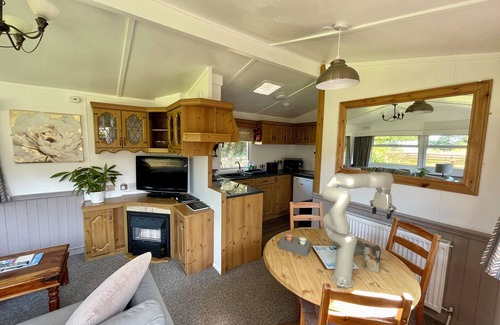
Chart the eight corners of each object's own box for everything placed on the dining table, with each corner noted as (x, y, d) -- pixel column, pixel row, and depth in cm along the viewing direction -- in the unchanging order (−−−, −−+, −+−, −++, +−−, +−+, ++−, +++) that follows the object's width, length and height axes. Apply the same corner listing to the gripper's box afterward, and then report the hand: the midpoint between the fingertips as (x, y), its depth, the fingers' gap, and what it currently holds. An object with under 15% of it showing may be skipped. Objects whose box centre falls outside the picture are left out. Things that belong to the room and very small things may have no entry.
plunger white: (305, 248, 159) (305, 240, 158) (297, 246, 161) (298, 238, 161) (306, 245, 164) (307, 237, 163) (299, 243, 166) (300, 235, 166)
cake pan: (358, 242, 181) (359, 237, 180) (372, 257, 157) (372, 252, 156) (329, 239, 183) (329, 235, 183) (338, 255, 159) (338, 249, 158)
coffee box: (377, 267, 144) (379, 245, 142) (379, 272, 138) (381, 249, 136) (362, 264, 147) (364, 242, 146) (363, 269, 141) (365, 246, 140)
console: (306, 256, 154) (307, 249, 154) (279, 248, 165) (279, 241, 164) (311, 248, 166) (311, 241, 166) (285, 241, 177) (285, 234, 176)
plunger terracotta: (291, 244, 164) (291, 236, 163) (284, 242, 167) (284, 234, 166) (293, 241, 169) (293, 234, 168) (286, 239, 172) (287, 232, 171)
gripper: (367, 188, 143) (365, 212, 145) (393, 194, 128) (390, 221, 130) (374, 187, 146) (372, 211, 148) (401, 194, 131) (398, 220, 133)
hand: (381, 216), depth 139 cm, fingers open, 9 cm apart
